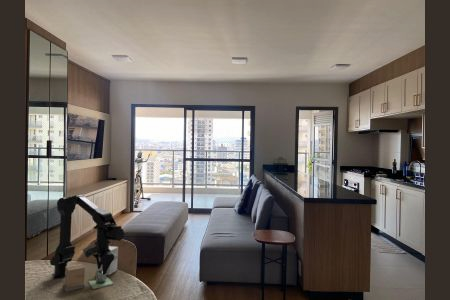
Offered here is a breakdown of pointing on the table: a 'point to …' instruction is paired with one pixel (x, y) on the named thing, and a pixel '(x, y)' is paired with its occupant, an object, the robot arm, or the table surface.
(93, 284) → the sage mat
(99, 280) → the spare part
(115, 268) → the supplement box
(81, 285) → the tan box
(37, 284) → the table surface
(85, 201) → the robot arm
